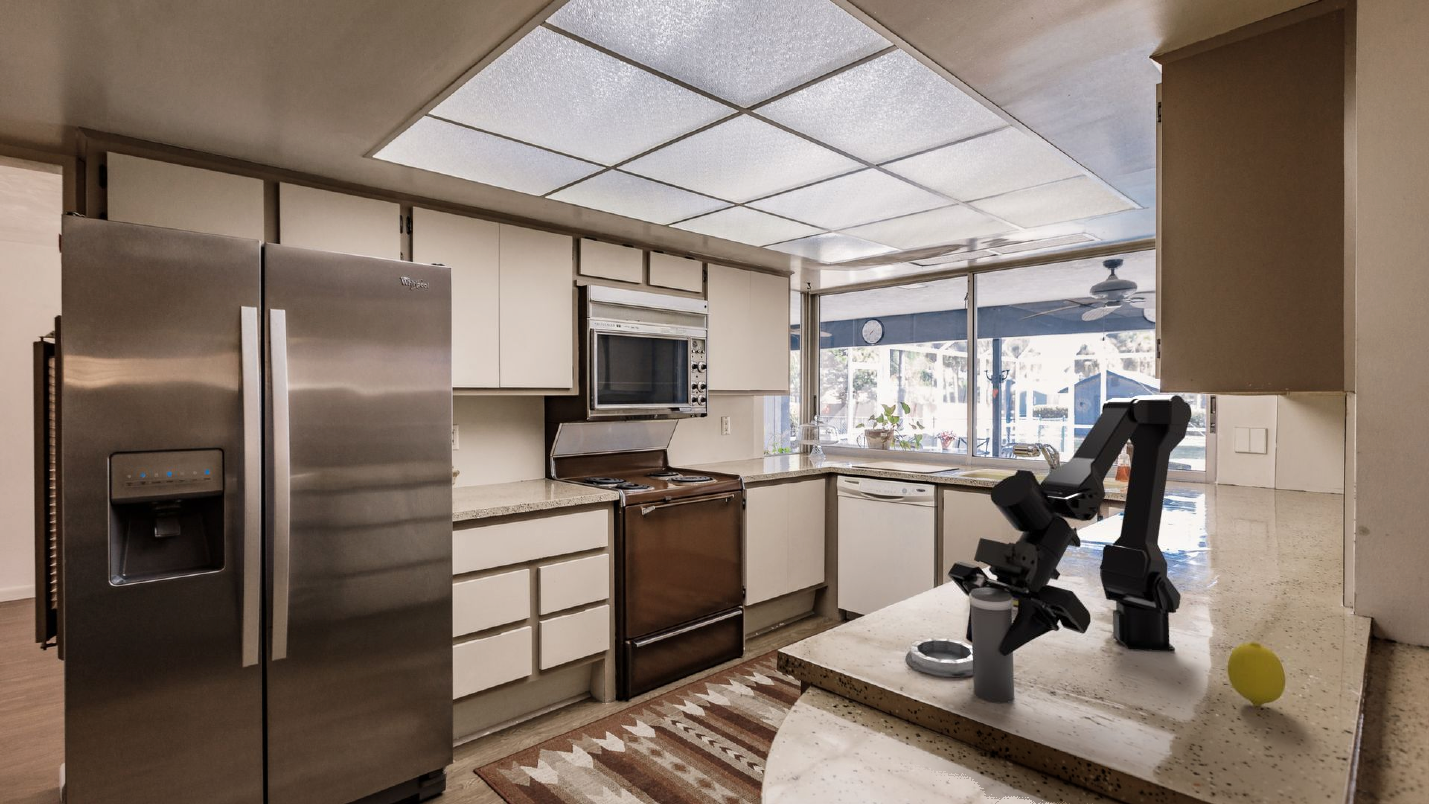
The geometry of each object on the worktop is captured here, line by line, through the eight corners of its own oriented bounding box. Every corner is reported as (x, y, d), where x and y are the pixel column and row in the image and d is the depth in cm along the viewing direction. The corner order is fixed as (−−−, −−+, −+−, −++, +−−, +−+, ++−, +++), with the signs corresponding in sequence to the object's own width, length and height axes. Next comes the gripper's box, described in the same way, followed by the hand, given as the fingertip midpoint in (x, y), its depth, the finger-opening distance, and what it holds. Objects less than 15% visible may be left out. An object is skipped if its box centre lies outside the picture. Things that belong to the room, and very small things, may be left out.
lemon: (1217, 697, 84) (1215, 635, 84) (1257, 694, 85) (1255, 632, 84) (1256, 718, 79) (1254, 652, 78) (1298, 714, 79) (1297, 649, 79)
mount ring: (976, 649, 102) (976, 638, 102) (990, 679, 91) (990, 667, 91) (903, 646, 104) (903, 635, 104) (909, 675, 94) (908, 663, 94)
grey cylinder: (1010, 686, 89) (1007, 587, 89) (1020, 705, 84) (1017, 600, 84) (968, 684, 90) (966, 586, 90) (975, 702, 85) (973, 598, 85)
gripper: (954, 507, 97) (900, 593, 92) (1073, 527, 80) (1015, 634, 75) (993, 552, 101) (943, 638, 96) (1114, 581, 84) (1061, 686, 79)
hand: (984, 647), depth 86 cm, fingers closed on grey cylinder, 5 cm apart
